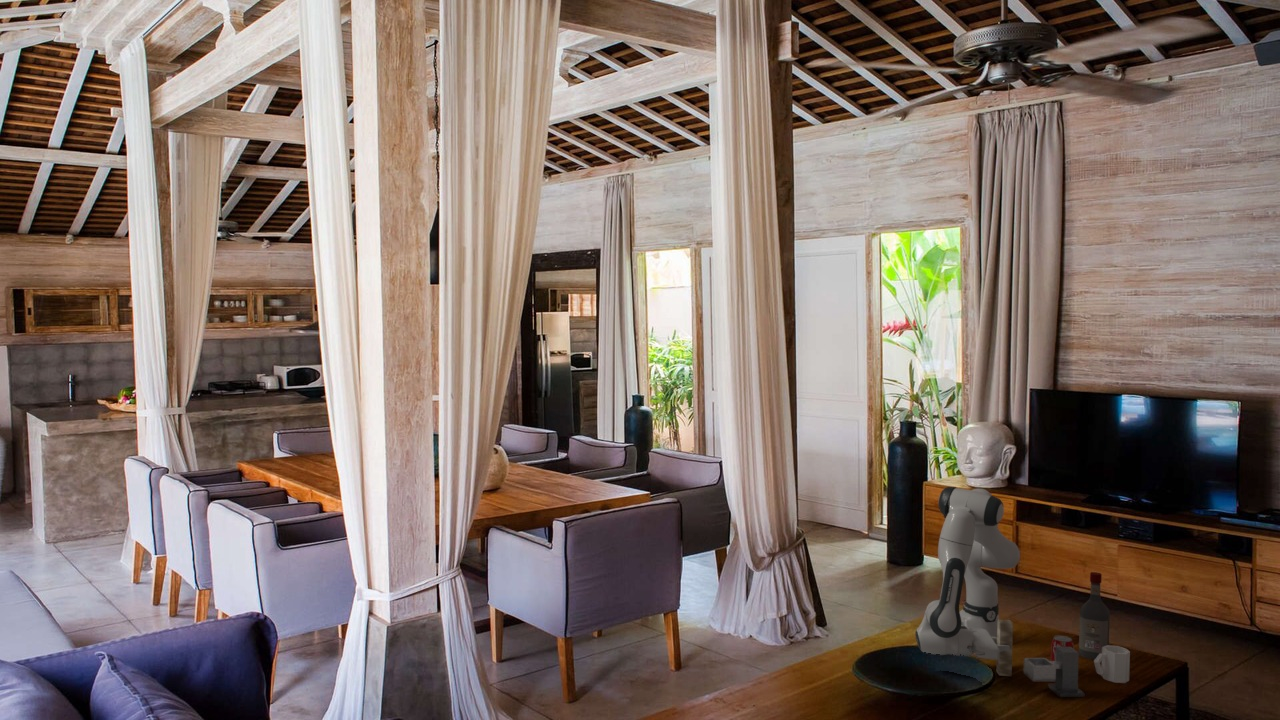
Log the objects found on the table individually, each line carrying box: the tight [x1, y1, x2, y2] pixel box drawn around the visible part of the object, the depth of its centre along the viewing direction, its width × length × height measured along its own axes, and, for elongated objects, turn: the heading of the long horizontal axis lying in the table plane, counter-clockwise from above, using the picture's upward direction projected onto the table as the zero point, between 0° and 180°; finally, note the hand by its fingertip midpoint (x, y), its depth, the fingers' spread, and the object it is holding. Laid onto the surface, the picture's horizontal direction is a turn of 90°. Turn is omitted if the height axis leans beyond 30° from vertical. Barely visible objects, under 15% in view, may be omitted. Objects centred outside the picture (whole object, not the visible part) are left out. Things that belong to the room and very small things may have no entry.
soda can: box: [1050, 634, 1075, 661], centre depth 324 cm, size 7×7×12 cm
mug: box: [1093, 644, 1131, 684], centre depth 318 cm, size 12×9×10 cm
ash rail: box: [995, 619, 1014, 677], centre depth 321 cm, size 4×4×18 cm
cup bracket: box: [1023, 647, 1085, 698], centre depth 307 cm, size 17×8×14 cm, turn 92°
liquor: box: [1078, 571, 1111, 661], centre depth 339 cm, size 9×9×30 cm
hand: (1007, 644), depth 320 cm, fingers closed on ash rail, 4 cm apart
